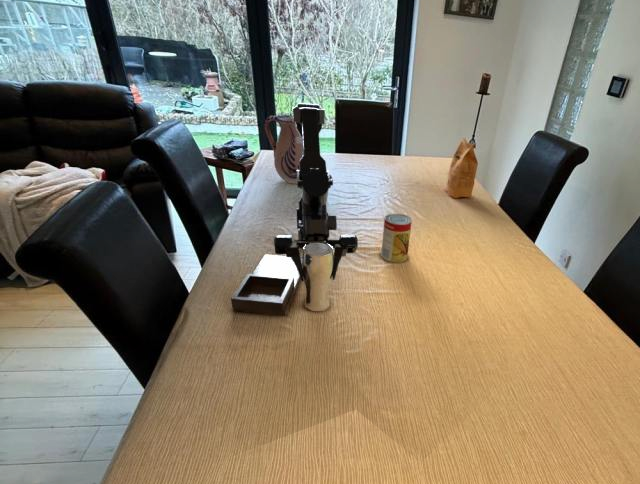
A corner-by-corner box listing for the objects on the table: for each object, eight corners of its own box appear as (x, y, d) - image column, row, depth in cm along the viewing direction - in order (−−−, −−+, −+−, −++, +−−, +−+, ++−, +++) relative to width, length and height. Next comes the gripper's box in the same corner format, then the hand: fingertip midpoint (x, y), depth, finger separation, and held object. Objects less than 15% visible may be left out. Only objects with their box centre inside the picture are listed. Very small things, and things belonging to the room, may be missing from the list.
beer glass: (336, 300, 102) (339, 246, 93) (323, 315, 96) (325, 259, 88) (311, 293, 103) (311, 238, 95) (297, 307, 98) (296, 251, 89)
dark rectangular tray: (265, 259, 117) (264, 246, 115) (307, 262, 117) (307, 250, 115) (231, 313, 94) (229, 298, 92) (284, 318, 94) (283, 303, 92)
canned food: (412, 257, 125) (417, 219, 119) (395, 265, 120) (399, 226, 114) (393, 248, 129) (397, 211, 123) (375, 255, 124) (378, 217, 118)
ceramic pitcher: (314, 189, 169) (313, 123, 155) (262, 185, 168) (256, 118, 154) (320, 176, 183) (320, 115, 170) (272, 172, 183) (268, 111, 169)
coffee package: (463, 189, 185) (473, 137, 173) (473, 199, 175) (484, 145, 163) (442, 189, 183) (450, 136, 171) (451, 199, 173) (460, 144, 161)
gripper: (271, 200, 88) (273, 271, 85) (358, 201, 92) (363, 269, 89) (274, 221, 99) (276, 284, 96) (352, 221, 102) (356, 282, 99)
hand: (318, 280), depth 95 cm, fingers closed on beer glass, 7 cm apart
